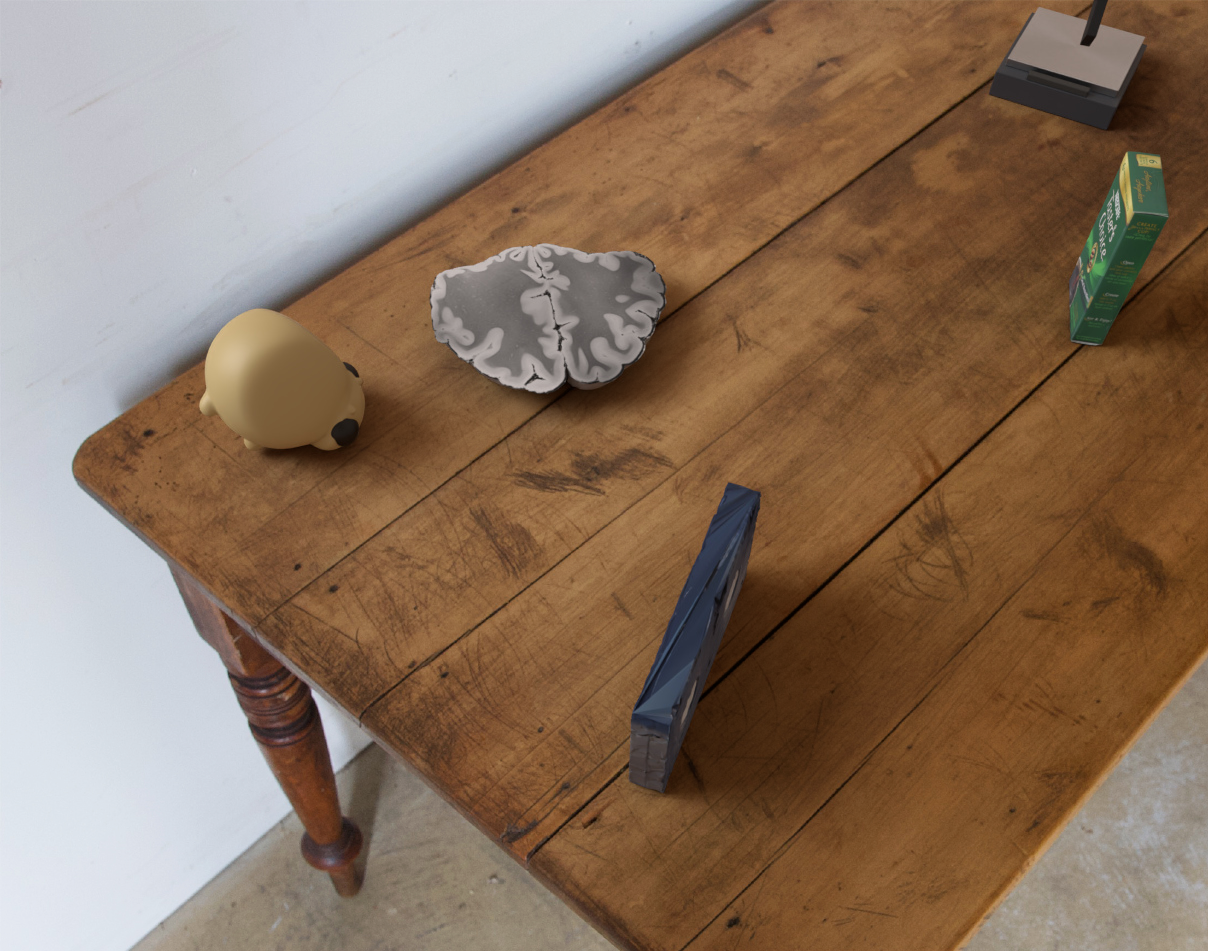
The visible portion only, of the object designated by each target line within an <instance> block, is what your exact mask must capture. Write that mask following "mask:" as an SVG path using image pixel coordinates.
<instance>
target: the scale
mask: <svg viewBox="0 0 1208 951" xmlns="http://www.w3.org/2000/svg"><path fill="white" fill-rule="evenodd" d="M1087 20H1088V19H1084V18H1080V17H1077V16H1073V15H1069V14H1065V13H1063V12H1059V11H1055V10H1052V9H1048V8H1045V7H1041V6H1038V7H1037V9H1036V11H1035V12H1033V11H1032V12H1031V13H1030V15H1029V16H1028V18H1027V20H1026V21H1025V23H1024V24H1023V26H1022V28H1021V29H1020V31H1019V33H1018V34H1017V36H1016V37H1015V40H1014V41H1013V43H1012V45H1011V46H1010V48H1009V50H1008V51H1007V53H1006V55H1005V56H1004V58H1003V59H1002V61H1001V62H1000V64H999V66H998V67H997V69H996V71H995V73H994V76H993V79H992V83H991V85H990V89H989V92H988V95H990V96H993V97H997V98H999V99H1003V100H1006V101H1009V102H1013V103H1016V104H1019V105H1021V106H1025V107H1029V108H1032V109H1035V110H1038V111H1042V112H1044V113H1048V114H1051V115H1055V116H1058V117H1061V118H1065V119H1068V120H1070V121H1075V122H1078V123H1081V124H1084V125H1086V126H1087V125H1088V126H1091V127H1094V128H1097V129H1101V130H1104V131H1107V130H1108V128H1109V126H1110V125H1111V122H1112V120H1113V119H1114V116H1115V115H1116V113H1117V111H1118V108H1119V106H1120V105H1121V102H1122V101H1123V98H1124V96H1125V94H1126V92H1127V90H1128V88H1129V86H1130V84H1131V81H1132V80H1133V77H1134V76H1135V74H1136V71H1137V70H1138V68H1139V65H1140V63H1141V61H1142V59H1143V56H1144V54H1145V52H1146V49H1147V47H1148V44H1145V43H1144V41H1145V39H1146V37H1145V36H1143V35H1140V34H1136V33H1132V32H1129V31H1125V30H1122V29H1119V28H1115V27H1111V26H1108V25H1104V24H1101V23H1100V27H1099V30H1098V33H1097V36H1096V38H1095V39H1094V41H1093V42H1092V44H1091V45H1090V46H1089V47H1088V46H1083V45H1080V42H1081V39H1082V36H1083V33H1084V30H1085V27H1086V24H1087Z"/></svg>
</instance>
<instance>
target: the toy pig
mask: <svg viewBox="0 0 1208 951" xmlns="http://www.w3.org/2000/svg"><path fill="white" fill-rule="evenodd" d="M204 381H205V385H206V386H205V387H206V388H205V392H204V394H203V395H202V396H201V398H200V400H199V410H200V413H201V414H203V415H204V416H206V417H209V418H210V417H214V416H218V417H219V418H220V419H221V420H222V422H223V423H224V424H225V425H226V426H227V427H228V428H229V429H230V430H231V431H233V432H234V433H235V434H237V435H238V436H239V437H241V438H242V439H243V443H244V446H245V447H246V449H247V450H249V451H252V452H257V451H260V450H262V449H263V448H268V449H276V450H285V449H286V450H287V449H294V448H298V447H302V446H308V445H311V446H313V447H315V448H316V449H319V450H322V451H334V450H337V449H339V448H342V447H348V446H350V445H353V443H354V442H355V441H356V440H357V439H358V437H359V434H360V426H361V425H362V422H363V419H364V415H365V410H366V409H365V408H366V398H365V393H364V390H363V387H362V386H363V383H364V381H363V379H362V378H361V377H360V374H359V372H358V370H357V368H356V367H355V366H353V365H352V364H351V363H349V362H346V361H342V359H341V358H340V357H339V355H338V354H336V352H335V351H334V350H333V349H332V348H331V347H329V345H327V344H326V343H325V342H324V341H323V340H322V339H320V338H319V337H318V336H317V335H316V334H314V332H312V331H311V330H310V329H308V328H307V327H306V326H304V325H302V324H301V323H299V322H298V321H296V320H295V319H293V318H291V317H289V316H288V315H285V314H283V313H281V312H278V311H275V310H272V309H268V308H261V307H259V308H252V309H249V310H246V311H244V312H242V313H239V315H236V316H235V317H234V318H232V319H230V320H229V321H228V322H227V323H226V324H225V325H224V326H223V327H222V328H221V329H220V331H218V333H217V334H216V335H215V337H214V339H213V340H212V342H211V344H210V346H209V348H208V351H207V354H206V358H205V363H204Z"/></svg>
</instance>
